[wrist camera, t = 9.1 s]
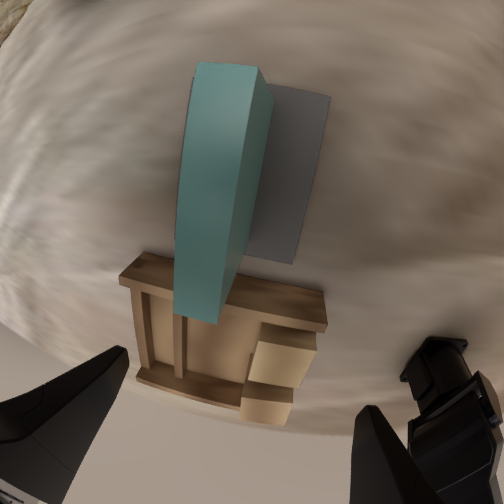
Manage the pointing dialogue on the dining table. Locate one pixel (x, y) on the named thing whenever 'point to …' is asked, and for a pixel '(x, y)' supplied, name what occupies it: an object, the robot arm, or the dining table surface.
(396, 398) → the dining table surface
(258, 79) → the teal flat slab
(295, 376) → the offcut
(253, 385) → the offcut
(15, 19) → the stone
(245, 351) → the tray
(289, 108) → the mat
